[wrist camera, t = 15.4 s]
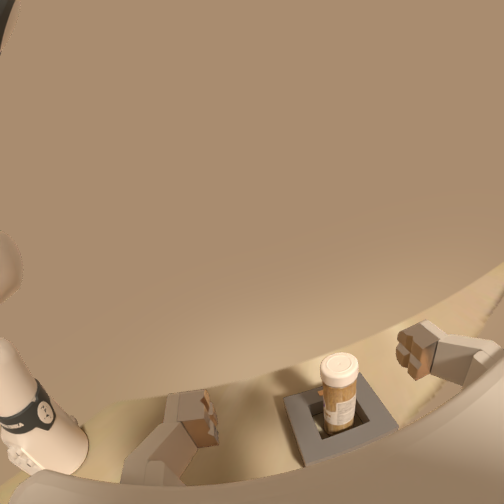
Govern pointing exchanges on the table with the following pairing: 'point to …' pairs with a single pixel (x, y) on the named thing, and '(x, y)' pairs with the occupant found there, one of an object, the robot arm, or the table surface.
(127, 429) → the table surface
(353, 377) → the sprinkles bottle
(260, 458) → the table surface
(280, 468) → the table surface
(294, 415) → the square frame
